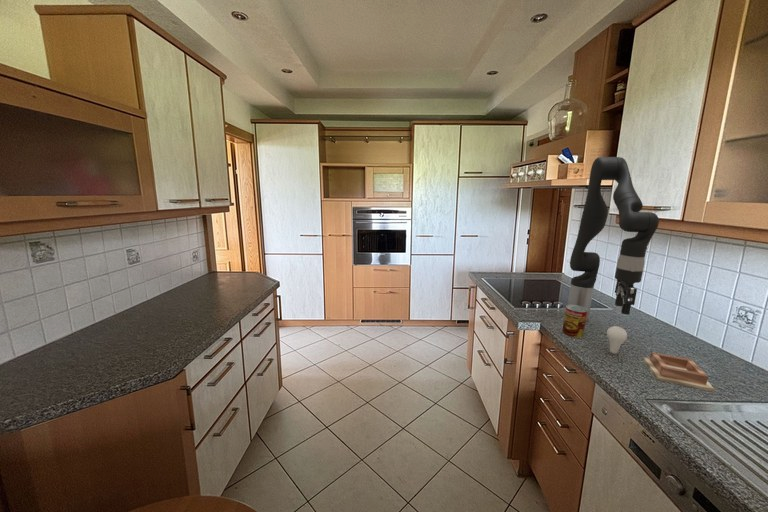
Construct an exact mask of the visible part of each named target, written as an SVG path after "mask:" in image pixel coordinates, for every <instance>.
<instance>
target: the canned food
mask: <svg viewBox="0 0 768 512" xmlns="http://www.w3.org/2000/svg"><path fill="white" fill-rule="evenodd" d="M587 311H588V310H587V309H586V308H584V307H582V306H578V305H568V304H566V305H565V311H564V318H563V322H562V323H563V324H562V331H561V332H562V334H563V335H565V336H567V337H569V336H570V337H569V338H573V337H575V339H582V338H583V337H584V333H585V328H586V324H587V322H586V317H587ZM581 337H582V338H581Z"/></svg>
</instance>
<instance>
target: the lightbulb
mask: <svg viewBox="0 0 768 512" xmlns="http://www.w3.org/2000/svg"><path fill="white" fill-rule="evenodd" d="M606 336H607V338H608V341H609V352H610V354H614V355H615V354H618V352H619V349H620V347H621V345H622V344H623V343H624V342H625V341H626V340H627V339H628V334H627V331H626V329H624V328H623V327H621V326H617V325H616V326H615V325H613V326H610V327H609V328H608V329H607V330H606Z"/></svg>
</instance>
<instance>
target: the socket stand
mask: <svg viewBox="0 0 768 512" xmlns="http://www.w3.org/2000/svg"><path fill="white" fill-rule="evenodd" d="M649 356H650V357H647V356H642V360H643V362H644V363H645V365H646V366H647V367H648V369H649V371H650V372H651V373H652V375H653V376H654V378H655V380H656V381H659V382H660V381H661V382H665V383H670V384H673V385H674V384H675V385H679V386H683V387H689V388H693V389H698V390H702V391H703V390H704V391H708V392H713V393H715V391H716V389H715V387H713V385H712V384H711V383H710V382H709V376H708V375H707V374H706V372H705V371H703V370H702V368H701V367H699V365H698V364H696V363H695V362H694V360H693V359H691V358H686V357H680V356H674V355H669V354H663V353H658V352H654V351H652V352H650V355H649Z"/></svg>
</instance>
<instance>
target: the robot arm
mask: <svg viewBox="0 0 768 512" xmlns="http://www.w3.org/2000/svg"><path fill="white" fill-rule="evenodd" d="M588 179H589V180H588V188H587V194H586V199H585V202H584V203H585V204H584V206H583V210H582V214H581V218H580V223H579V228H578V233H577V238H576V240H575V243H574V246H573V250H572V253H571V255H570V260H569V266H570V270H572V271H574V272H583V273H581V274H580V275H576V276H573V277H571V280H570V284H569V285H570V286H569V293H568V300H567V305H578V306H582V307H584V308H586V309H587V310H588V311H587V317H586V323H588V322H589V317H590V312H591V305H592V299H593V295H594V289H595V288H594V287H595V284H596V281H597V276H598V273H599V268H600V266H601V265H600V264H601V258H600V255H599V254H598V253H597V252H593V251H586V248H587V246H588V245H589V244H590V242H591V241H592V240H593V239H594V238H596V237H597V236H598V235H599V234H600V233H601V232H602V231H603V230H604V228H605V226H606V223H607V219H608V215H609V209H608V206H607V203H606V201H605V200H604V197H603V195H602V190H601V189H602V188H601V187H602V186H601V185H602V181H615V182H616V183H617V186H616V187H615V189H614V191H613V196H612V200H613V202H614V204H615V206H616V209H617V210H618V226H619V228H620V229H621V230H622V231H624V232H628V233H636V235H635V236H633V237H628V238H624V239H623V240H622V242H621V245H620V252H619V256H618V258H617V263H616V268H615V273H614V279H615V280H616V284H615V288H614V293H615V296H616V297H615V301H614V302H615V303H614V305H615V306H616V307H621V311H620V313H621V314H623V315H630V312H631V307H632V306H634V305H635V303H636V297H637V291H638V288H637V287H635V286H634V284H635V283H639V284H640V282H642V278H643V274H644V268H645V262H646V261H645V258H646V253H647V248H648V245H649V243H650V241H651V240H652V238H653V236H654V235H655V233H656V231H657V229H658V228H659V223H660V219H659V217H658V215H657V214H656V213H655V212H652V211H650V212H649V211H642V209H643V206H644V204H643V202H642V200H641V197H639V195H638V193H637V191H636V189H635V187H634V184H633V180H632V177H631V173H630V169H629V166H628V162H627V161H626V159H625V158H623V157H621V156H600V157H596V159H594V161H593V162H592V165H591V167H590V175H589V178H588Z"/></svg>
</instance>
